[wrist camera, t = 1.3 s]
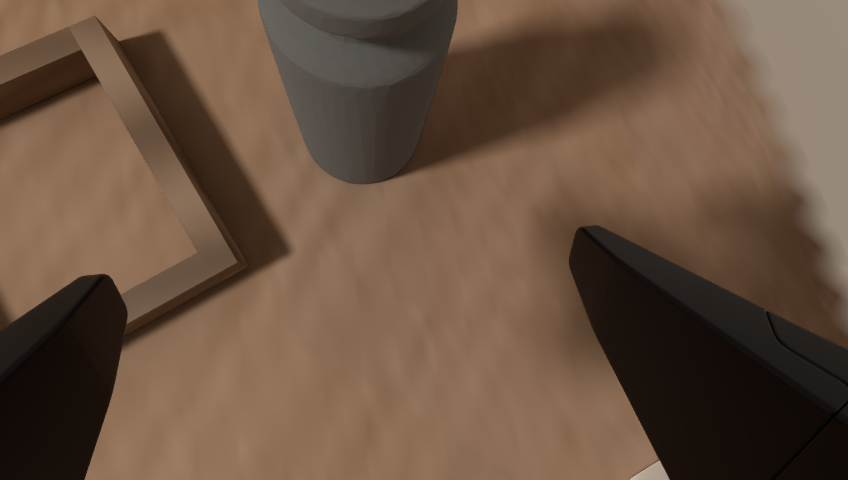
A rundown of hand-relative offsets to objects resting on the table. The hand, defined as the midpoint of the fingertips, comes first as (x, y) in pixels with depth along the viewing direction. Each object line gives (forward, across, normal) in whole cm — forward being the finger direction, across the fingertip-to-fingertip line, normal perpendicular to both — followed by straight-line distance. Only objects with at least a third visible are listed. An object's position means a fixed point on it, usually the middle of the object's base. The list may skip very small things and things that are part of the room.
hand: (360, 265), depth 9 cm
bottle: (+16, -1, +4) cm, 16 cm away
